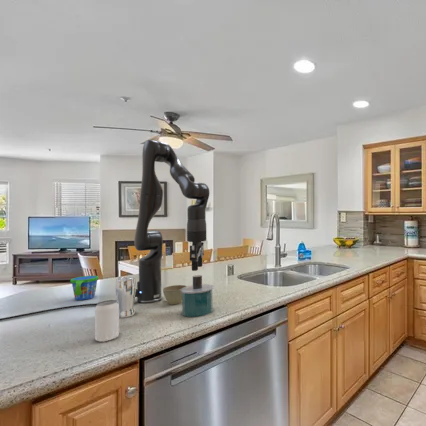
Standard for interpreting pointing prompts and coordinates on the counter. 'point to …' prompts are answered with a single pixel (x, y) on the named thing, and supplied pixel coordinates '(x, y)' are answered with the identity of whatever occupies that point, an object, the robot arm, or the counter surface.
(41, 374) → the counter surface
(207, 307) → the canister
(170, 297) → the flower pot
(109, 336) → the can
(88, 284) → the blue green tapered container
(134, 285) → the beer glass
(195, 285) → the lid
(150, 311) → the counter surface
